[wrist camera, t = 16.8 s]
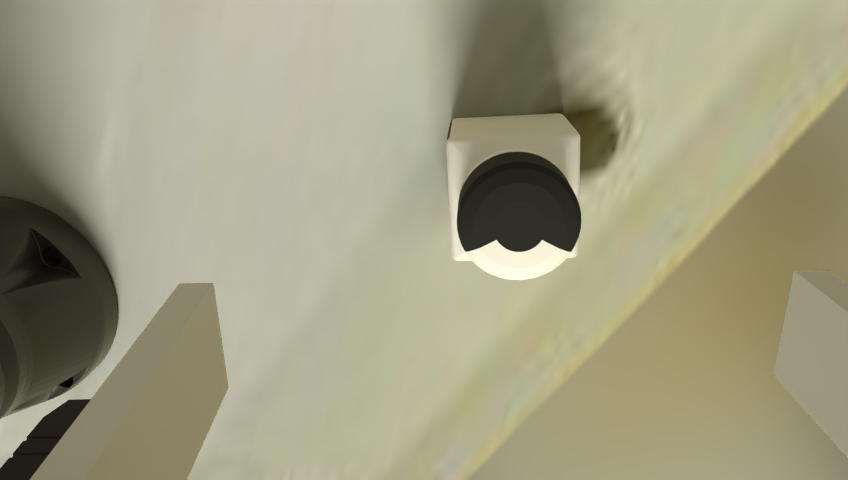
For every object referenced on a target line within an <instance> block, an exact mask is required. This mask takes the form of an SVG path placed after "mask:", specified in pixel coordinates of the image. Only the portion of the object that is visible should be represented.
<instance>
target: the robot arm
mask: <svg viewBox="0 0 848 480" xmlns="http://www.w3.org/2000/svg"><path fill="white" fill-rule="evenodd" d="M117 320H118V309H117V300H116V295H115V291H114V287H113V284H112V281H111V279H110V276H109V274H108V272H107V270H106V268H105V266H104V264H103V262H102V261H101V259H100V257H99V256H98V255H97V253H96V252H95V250H94V249H93V248H92V246H91V245H90V244H89V243H88V242H87V241H86V240H85V238H84V237H83V236H82V235H81V234H80V233H79V232H77V231H76V230H75V229H74V228H73V227H72V226H70V225H69V224H68V223H66V222H65V221H64V220H62V219H61V218H59V217H58V216H56V215H54V214H53V213H51V212H49V211H47V210H45V209H43V208H41V207H39V206H36V205H34V204H31V203H28V202H25V201H22V200H18V199H13V198H7V197H0V419H1V418H2V417H5V416H8V415H10V414H13V413H16V412H18V411H21V410H24V409H26V408H29V407H31V406H34V405H37V404H39V403H42V402H45V401H47V400H50V399H53V398H55V397H57V396H60V395H62V394H64V393H65V392H67V391H69V390H70V389H72V388H73V387H75V386H76V385H78V384H79V383H80V382H81V381H82V380H83V379H84V378H86V377H87V376H88V375H89V374H90V373H91V372H92V371H93V370H94V369H95V368H96V367H97V366H98V365H99V364H100V363H101V362H102V360H103V359H104V358H105V356H106V355H107V353H108V351H109V350H110V348H111V345H112V343H113V340H114V337H115V333H116V329H117ZM774 377H775V378H776V379H777V380H778V381H779V382H780V383H781V384H782V385H783V386H784V388H785V389H786V390H787V391H788V392H789V393H790V394H791V395H792V396H793V398H794V399H795V400H796V401H797V402H798V403H799V404H800V405H801V406H802V408H803V409H804V410H805V411H806V412H807V413H808V414H809V415H810V417H811V418H812V419H813V420H814V421H815V422H816V423H817V424H818V425H819V426H820V428H821V429H822V430H823V431H824V432H825V433H826V434H827V436H828V437H829V438H830V439H831V440H832V441H833V442H834V443H835V444H836V446H837V447H838V448H839V449H840V450H841V451H842V452H843V453H844V454H845V455H846V457H847V458H848V284H847V283H845V282H844V281H842V280H841V279H840V278H838V277H837V276H836V275H834V274H833V273H831V272H830V271H829V270H812V271H794V276H793V281H792V286H791V291H790V296H789V301H788V305H787V310H786V315H785V321H784V326H783V330H782V336H781V340H780V345H779V350H778V355H777V360H776V365H775V370H774ZM227 389H228V381H227V374H226V367H225V360H224V353H223V346H222V339H221V332H220V325H219V318H218V311H217V304H216V297H215V290H214V284H213V283H187V284H179V285H178V286H177V287H176V289H175V290H174V291H173V293H172V294H171V295H170V297H169V298H168V299H167V300H166V302H165V303H164V304H163V306H162V307H161V308H160V310H159V311H158V312H157V314H156V315H155V316H154V317H153V319H152V320H151V321H150V323H149V324H148V325H147V327H146V328H145V329H144V331H143V332H142V333H141V335H140V336H139V337H138V338H137V340H136V341H135V342H134V344H133V345H132V346H131V348H130V349H129V350H128V352H127V353H126V354H125V355H124V357H123V358H122V359H121V361H120V362H119V363H118V365H117V366H116V367H115V369H114V370H113V371H112V372H111V374H110V375H109V376H108V378H107V379H106V380H105V382H104V383H103V384H102V386H101V387H100V388H99V390H98V391H97V392H96V393H95V395H94V396H93V397H92V399H84V400H68V401H67V402H65V403H64V404H62V405H61V406H59V407H58V408H56V409H55V410H53V411H52V412H50V413H49V414H48V415H46V416H45V417H43V418H42V420H41V421H40V422H39V423H38V424H37V426H36V427H35V428H34V429H33V430H32V432H31V433H30V434H29V435H28V436H27V440H26V441H23V442H22V443H21V445H20V446H19V447H18V448H17V449H16V451H15V452H14V453H13V457H12V458H9V459H8V460H7V461H6V462H5V464H4V465H3V466H2V467H1V468H0V480H187V478H188V476H189V473H190V471H191V469H192V467H193V464H194V462H195V460H196V458H197V456H198V453H199V451H200V449H201V447H202V445H203V442H204V440H205V438H206V436H207V434H208V431H209V429H210V427H211V425H212V422H213V420H214V418H215V416H216V414H217V411H218V409H219V407H220V405H221V403H222V400H223V398H224V396H225V394H226V391H227Z"/></svg>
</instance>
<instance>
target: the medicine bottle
mask: <svg viewBox="0 0 848 480" xmlns="http://www.w3.org/2000/svg"><path fill="white" fill-rule="evenodd" d="M446 153H447V174H448V194H449V215H450V236H451V255H452V258H453V259H454V260H455V261H473V262H474V263H475V264H476V265H477V266H478V267H480V268H481V269H482V270H484V271H486V272H488V273H489V274H492V275H494V276H497V277H500V278H504V279H511V280H524V279H531V278H535V277H539V276H541V275H544V274H546V273H548V272H550V271H551V270H553V269H555V268H556V267H557V266H559V265H560V264H561V263H562V262H563V261H564V260H565V259H566V258H573V257H575V256H577V254H578V251H579V233H580V229H581V211H580V206H579V188H580V135H579V133H578V132H577V131H576V130H575V128H574V127H573V126H572V125H571V124H570V122H569V121H568V120H567V119H566V118H565V116H564V115H563V114H560V113H556V114H535V115H514V116H493V117H472V118H455V119H453V120H452V121H451V122H450V127H449V132H448V137H447V142H446Z"/></svg>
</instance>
